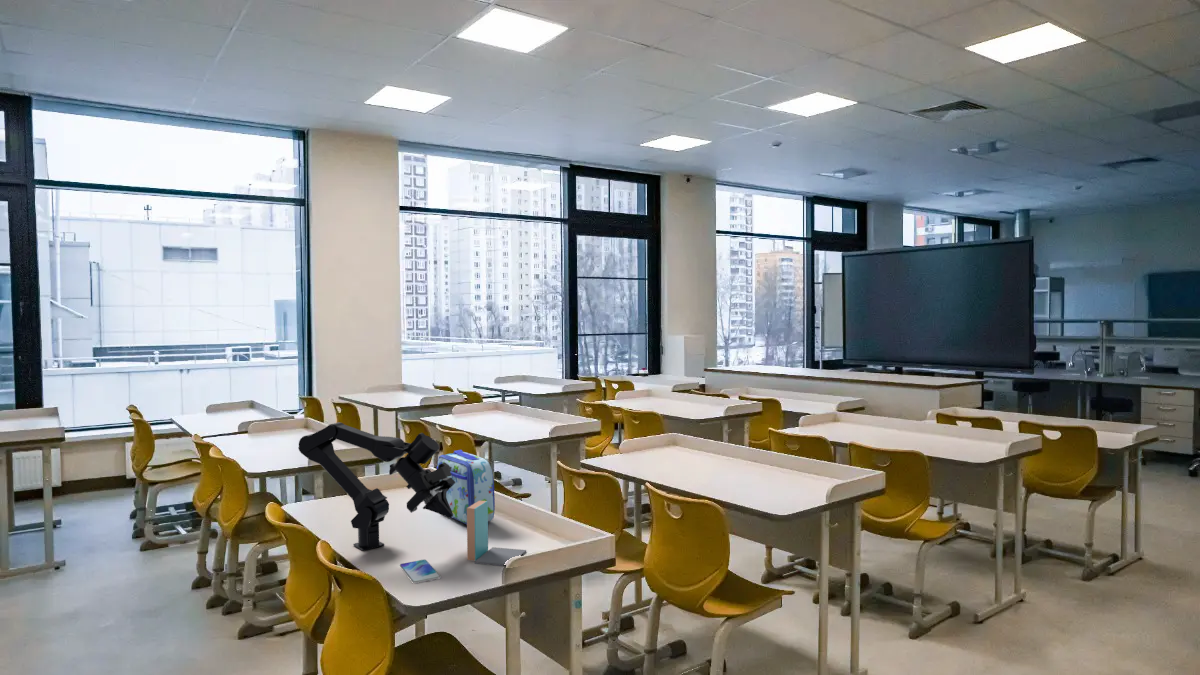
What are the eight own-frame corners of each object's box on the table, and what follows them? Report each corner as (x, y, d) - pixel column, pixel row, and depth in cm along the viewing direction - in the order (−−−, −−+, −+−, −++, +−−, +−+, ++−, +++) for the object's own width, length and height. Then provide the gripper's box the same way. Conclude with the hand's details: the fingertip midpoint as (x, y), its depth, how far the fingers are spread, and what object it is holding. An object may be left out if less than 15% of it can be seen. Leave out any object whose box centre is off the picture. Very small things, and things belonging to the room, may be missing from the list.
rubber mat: (474, 563, 195) (474, 561, 195) (492, 548, 206) (492, 547, 206) (510, 566, 192) (510, 564, 192) (526, 551, 204) (526, 549, 204)
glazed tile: (467, 560, 197) (466, 508, 197) (479, 550, 205) (479, 500, 204) (476, 560, 197) (475, 508, 196) (488, 551, 204) (487, 501, 204)
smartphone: (413, 582, 180) (398, 563, 193) (413, 586, 180) (398, 567, 193) (442, 576, 184) (425, 558, 197) (442, 580, 184) (426, 562, 197)
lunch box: (433, 511, 245) (432, 449, 244) (463, 506, 251) (462, 445, 250) (466, 531, 223) (465, 462, 222) (498, 524, 229) (497, 458, 228)
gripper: (415, 462, 194) (455, 506, 192) (448, 449, 212) (484, 489, 210) (389, 490, 196) (428, 534, 194) (424, 475, 214) (459, 514, 212)
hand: (451, 516), depth 202 cm, fingers closed
